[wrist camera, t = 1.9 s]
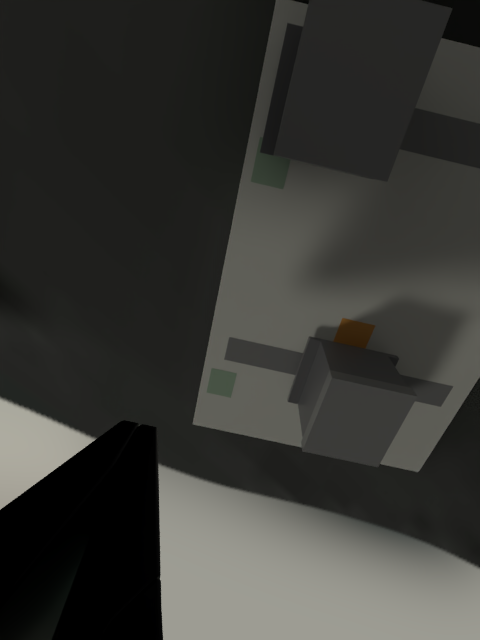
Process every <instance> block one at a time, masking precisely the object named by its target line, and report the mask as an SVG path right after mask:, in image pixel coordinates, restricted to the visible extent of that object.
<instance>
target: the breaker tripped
mask: <svg viewBox="0 0 480 640" xmlns="http://www.w3.org/2000/svg"><path fill="white" fill-rule="evenodd" d="M398 360H399V358H398V356H396V355H392V354H387V353H383V352H378V351H374V350H369V349H365V348H360V347H356V346H351V345H347V344H342V343H338V342H333V341H329V340H324V339H320V338H315V337H311V336H309V337H308V340H307V343H306V346H305V349H304V352H303V355H302V358H301V360H300V363H299V366H298V369H297V372H296V375H295V378H294V381H293V384H292V387H291V389H290V392H289V395H288V398H287V401H288V402H290V403H295V404H298V409H299V416H300V423H301V430H302V437H303V438H302V441H301V445H302V451H304V452H309V453H313V454H318V455H323V456H327V457H332V458H337V459H342V460H346V461H351V462H356V463H360V464H365V465H370V466H375V467H378V466H379V464H380V463H381V461H382V459H383V457H384V456H385V454H386V452H387V450H388V448H389V447H390V445H391V443H392V441H393V439H394V438H395V436H396V434H397V432H398V431H399V429H400V427H401V425H402V423H403V422H404V420H405V418H406V416H407V414H408V413H409V411H410V409H411V407H412V406H413V404H414V402H415V400H416V398H417V395H416V394H415V392H414V391H413V389H412V388H409V387H408V386H407V384H406V383H405V381H404V380H403V378H402V377H401V375H400V374H399V372H398V371H397V369H396V368H395V366H396V364H397V362H398Z"/></svg>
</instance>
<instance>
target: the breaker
mask: <svg viewBox="0 0 480 640" xmlns="http://www.w3.org/2000/svg"><path fill="white" fill-rule="evenodd" d="M451 11H452V8H449V7H445V6H441V5H437V4H433V3H429V2H426V1H422V0H309V3H308V8H307V12H306V17H305V21H304V25H303V27H302V26H298V25H294V24H290V23H287V28H286V32H285V37H284V42H283V46H282V51H281V56H280V60H279V65H278V70H277V75H276V79H275V84H274V89H273V93H272V98H271V103H270V107H269V112H268V117H267V121H266V126H265V131H264V136H263V140H262V145H261V150H260V153H263V154H268V155H272V156H276V157H280V158H284V159H289V160H293V161H297V162H301V163H306V164H310V165H314V166H318V167H322V168H327V169H331V170H335V171H339V172H343V173H348V174H352V175H356V176H360V177H365V178H369V179H375V180H379V181H385V182H387V181H388V179H389V176H390V173H391V171H392V168H393V165H394V163H395V160H396V157H397V155H398V152H399V149H400V147H401V144H402V141H403V139H404V136H405V133H406V131H407V128H408V125H409V123H410V120H411V117H412V115H413V112H414V109H415V107H416V104H417V101H418V99H419V96H420V94H421V91H422V88H423V86H424V83H425V80H426V78H427V75H428V72H429V70H430V67H431V64H432V62H433V59H434V56H435V54H436V51H437V48H438V46H439V43H440V40H441V38H442V35H443V32H444V30H445V27H446V24H447V22H448V19H449V16H450V14H451Z"/></svg>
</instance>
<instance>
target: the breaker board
mask: <svg viewBox="0 0 480 640" xmlns="http://www.w3.org/2000/svg"><path fill="white" fill-rule="evenodd" d="M307 8H308V4H304V3H300V2H296V1H292V0H276V3H275V8H274V13H273V18H272V24H271V29H270V34H269V39H268V44H267V49H266V54H265V59H264V64H263V69H262V74H261V79H260V85H259V90H258V95H257V100H256V105H255V110H254V115H253V120H252V125H251V130H250V135H249V140H248V146H247V151H246V156H245V161H244V166H243V171H242V176H241V181H240V186H239V191H238V196H237V201H236V206H235V212H234V217H233V222H232V227H231V232H230V237H229V242H228V247H227V252H226V257H225V262H224V267H223V273H222V278H221V283H220V288H219V293H218V298H217V303H216V308H215V313H214V318H213V323H212V328H211V334H210V339H209V344H208V349H207V354H206V359H205V364H204V369H203V374H202V379H201V384H200V389H199V395H198V400H197V405H196V410H195V415H194V420H193V424H194V425H199V426H204V427H208V428H213V429H218V430H223V431H227V432H232V433H237V434H241V435H246V436H251V437H256V438H260V439H265V440H270V441H274V442H279V443H284V444H289V445H293V446H298V447H302V445H301V441H302V438H303V437H302V430H301V423H300V416H299V409H298V404H295V403H290V402H288V401H287V398H288V395H289V392H290V389H291V387H292V384H293V381H294V378H295V375H296V372H297V369H298V366H299V363H300V360H301V358H302V355H303V352H304V349H305V346H306V343H307V340H308V337H309V336H311V337H315V338H320V339H324V340H329V341H333V342H338V343H342V344H347V345H351V346H356V347H360V348H365V349H369V350H374V351H378V352H383V353H387V354H392V355H396V356H398V358H399V360H398V362H397V364H396V366H395V368H396V369H397V371H398V372H399V374H400V375H401V377H402V378H403V380H404V381H405V383H406V384H407V386H408V387H409V388H412V389H413V391H414V392H415V394H416V395H417V398H416V400H415V402H414V404H413V406H412V407H411V409H410V411H409V413H408V414H407V416H406V418H405V420H404V422H403V423H402V425H401V427H400V429H399V431H398V432H397V434H396V436H395V438H394V439H393V441H392V443H391V445H390V447H389V448H388V450H387V452H386V454H385V456H384V457H383V459H382V461H381V463H380V464H383V465H388V466H392V467H397V468H402V469H406V470H411V471H416V472H419V470H420V469H421V467H422V466H423V464H424V463H425V461H426V460H427V458H428V456H429V455H430V453H431V452H432V450H433V449H434V447H435V446H436V444H437V442H438V441H439V439H440V438H441V436H442V435H443V433H444V432H445V430H446V428H447V427H448V425H449V424H450V422H451V421H452V419H453V418H454V416H455V414H456V413H457V411H458V410H459V408H460V407H461V405H462V404H463V402H464V400H465V399H466V397H467V396H468V394H469V393H470V391H471V390H472V388H473V386H474V385H475V383H476V382H477V380H478V379H479V377H480V48H479V47H475V46H471V45H467V44H463V43H459V42H455V41H451V40H447V39H443V38H441V40H440V43H439V46H438V48H437V51H436V54H435V56H434V59H433V62H432V64H431V67H430V70H429V72H428V75H427V78H426V80H425V83H424V86H423V88H422V91H421V94H420V96H419V99H418V101H417V104H416V107H415V109H414V112H413V115H412V117H411V120H410V123H409V125H408V128H407V131H406V133H405V136H404V139H403V141H402V144H401V147H400V149H399V152H398V155H397V157H396V160H395V163H394V165H393V168H392V171H391V173H390V176H389V179H388V181H387V182H385V181H379V180H375V179H369V178H365V177H360V176H356V175H352V174H348V173H343V172H339V171H335V170H331V169H327V168H322V167H318V166H314V165H310V164H306V163H301V162H297V161H293V160H289V159H284V158H280V157H276V156H272V155H268V154H263V153H260V150H261V145H262V140H263V136H264V131H265V126H266V121H267V117H268V112H269V107H270V103H271V98H272V93H273V89H274V84H275V79H276V75H277V70H278V65H279V60H280V56H281V51H282V46H283V42H284V37H285V32H286V28H287V23H290V24H294V25H298V26H302V27H303V25H304V21H305V17H306V12H307Z"/></svg>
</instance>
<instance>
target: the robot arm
mask: <svg viewBox="0 0 480 640" xmlns="http://www.w3.org/2000/svg"><path fill="white" fill-rule="evenodd" d="M0 640H163V633H162V612H161V581H160V531H159V480H158V431H157V428H156V427H153V426H149V425H144V424H142V425H139V424H138V423H135V422H130V421H125V420H124V421H121V422H119V423H118V424H116V425H115V426H114V427H112V428H111V429H110V430H108V431H107V432H106V433H104V434H103V435H102V436H100V437H99V438H97V439H96V440H95V441H93V442H92V443H91V444H89V445H88V446H87V447H85V448H84V449H83V450H81V451H80V452H78V453H77V454H76V455H74V456H73V457H72V458H70V459H69V460H68V461H66V462H65V463H63V464H62V465H61V466H59V467H58V468H57V469H55V470H54V471H53V472H51V473H50V474H48V475H47V476H46V477H44V478H43V479H42V480H40V481H39V482H38V483H36V484H35V485H33V486H32V487H31V488H29V489H28V490H27V491H25V492H24V493H23V494H21V495H20V496H18V498H16V499H15V500H13V501H12V502H10V503H9V504H8V505H6V506H5V507H4V508H2V509H1V510H0Z"/></svg>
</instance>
